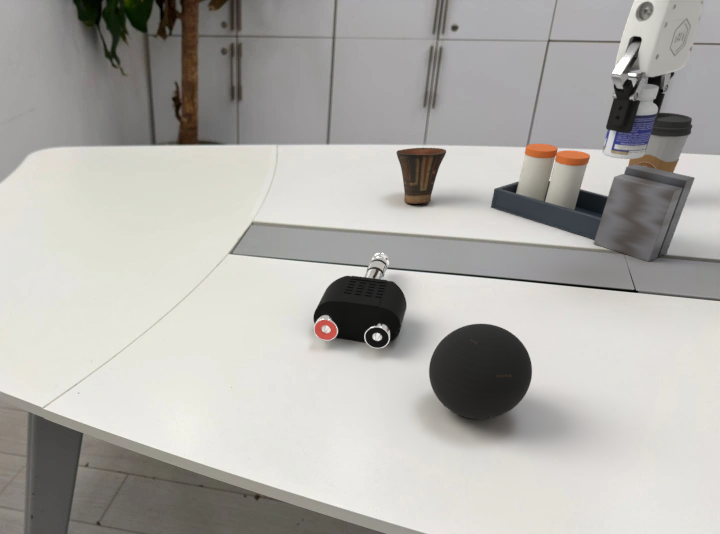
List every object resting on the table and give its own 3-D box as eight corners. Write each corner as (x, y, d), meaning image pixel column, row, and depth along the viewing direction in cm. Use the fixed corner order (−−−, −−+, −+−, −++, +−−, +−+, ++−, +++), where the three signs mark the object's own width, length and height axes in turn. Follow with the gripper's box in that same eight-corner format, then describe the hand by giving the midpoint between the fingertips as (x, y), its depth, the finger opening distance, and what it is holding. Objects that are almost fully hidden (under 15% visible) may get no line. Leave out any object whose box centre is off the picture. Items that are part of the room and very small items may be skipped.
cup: (413, 190, 135) (420, 139, 129) (448, 202, 129) (457, 148, 123) (380, 199, 131) (386, 146, 126) (415, 211, 125) (422, 156, 119)
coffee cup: (607, 201, 126) (632, 118, 118) (624, 191, 131) (650, 109, 122) (655, 212, 121) (686, 125, 113) (672, 200, 125) (702, 116, 117)
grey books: (666, 253, 106) (695, 177, 99) (648, 261, 104) (676, 184, 97) (611, 236, 112) (634, 164, 105) (593, 244, 110) (615, 170, 103)
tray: (640, 226, 116) (646, 206, 114) (601, 242, 110) (607, 221, 108) (529, 194, 131) (533, 176, 129) (490, 207, 126) (494, 188, 124)
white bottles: (579, 212, 120) (596, 154, 115) (562, 219, 118) (578, 160, 112) (524, 197, 128) (537, 142, 123) (507, 202, 126) (519, 146, 120)
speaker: (452, 374, 79) (468, 298, 74) (536, 409, 73) (560, 329, 67) (404, 410, 74) (417, 330, 68) (490, 451, 67) (512, 367, 62)
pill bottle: (653, 157, 92) (675, 87, 87) (620, 161, 91) (641, 91, 86) (623, 148, 96) (643, 81, 91) (592, 152, 95) (610, 84, 90)
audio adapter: (309, 307, 83) (347, 235, 102) (307, 345, 86) (344, 268, 105) (400, 320, 79) (422, 243, 99) (394, 359, 82) (416, 276, 102)
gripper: (671, -24, 75) (623, 143, 85) (743, -34, 83) (691, 121, 93) (606, -24, 80) (567, 133, 90) (679, -34, 88) (636, 112, 98)
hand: (630, 125), depth 92 cm, fingers closed on pill bottle, 5 cm apart
